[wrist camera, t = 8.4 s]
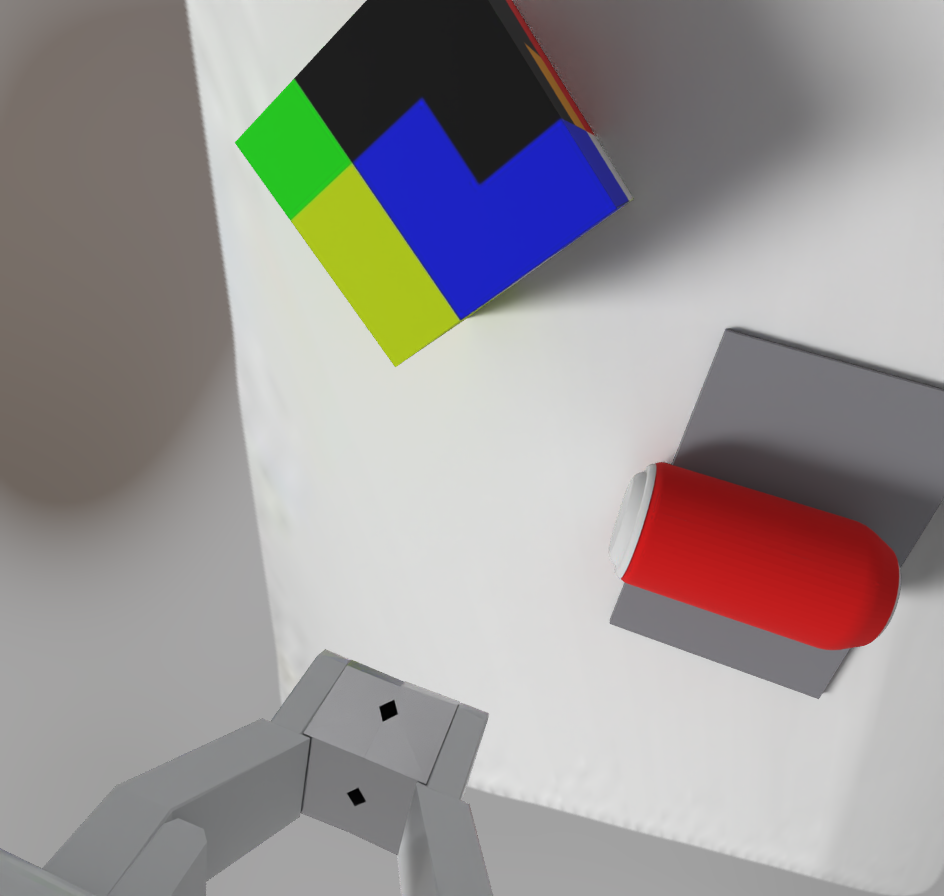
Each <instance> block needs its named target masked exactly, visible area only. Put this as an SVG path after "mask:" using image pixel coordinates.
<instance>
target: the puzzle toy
mask: <svg viewBox="0 0 944 896" xmlns="http://www.w3.org/2000/svg"><path fill="white" fill-rule="evenodd" d="M235 143H236V145H237V146H238V148H239V149H240V150H241V152H242V153H243V155H244V156H245V157H246V159H247V160H248V162H249V163H250V164H251V166H252V167H253V169H254V170H255V171H256V173H257V174H258V176H259V177H260V178H261V180H262V181H263V183H264V184H265V185H266V187H267V188H268V190H269V191H270V192H271V194H272V195H273V197H274V198H275V199H276V201H277V202H278V204H279V205H280V206H281V208H282V209H283V211H284V212H285V213H286V215H287V216H288V218H289V219H290V220H291V222H292V223H293V225H294V226H295V227H296V229H297V230H298V232H299V233H300V234H301V236H302V237H303V239H304V240H305V241H306V243H307V244H308V246H309V247H310V248H311V250H312V251H313V253H314V254H315V255H316V257H317V258H318V260H319V261H320V262H321V264H322V265H323V267H324V268H325V269H326V271H327V272H328V274H329V275H330V276H331V278H332V279H333V281H334V282H335V283H336V285H337V286H338V288H339V289H340V290H341V292H342V293H343V295H344V296H345V297H346V299H347V300H348V302H349V303H350V304H351V306H352V307H353V309H354V310H355V311H356V313H357V314H358V316H359V317H360V318H361V320H362V321H363V323H364V324H365V325H366V327H367V328H368V330H369V331H370V332H371V334H372V335H373V337H374V338H375V339H376V341H377V342H378V344H379V345H380V346H381V348H382V349H383V351H384V352H385V353H386V355H387V356H388V358H389V359H390V360H391V362H392V363H393V365H394V366H395V367H396V366H398V365H399V364H401V363H402V362H404V361H405V360H406V359H408V358H409V357H411V356H412V355H414V354H415V353H417V352H418V351H420V350H421V349H423V348H424V347H425V346H427V345H428V344H430V343H431V342H433V341H434V340H436V339H437V338H439V337H440V336H442V335H443V334H444V333H446V332H447V331H449V330H450V329H452V328H453V327H455V326H456V325H458V324H459V323H461V322H462V321H464V320H465V319H466V318H468V317H469V316H471V315H472V314H473V313H475V312H476V311H478V310H479V309H480V308H482V307H483V306H485V305H486V304H487V303H489V302H490V301H492V300H493V299H494V298H496V297H497V296H499V295H500V294H502V293H503V292H504V291H506V290H507V289H509V288H510V287H511V286H513V285H514V284H516V283H517V282H518V281H520V280H521V279H523V278H524V277H525V276H527V275H528V274H530V273H531V272H532V271H534V270H535V269H537V268H538V267H539V266H541V265H542V264H544V263H545V262H546V261H548V260H549V259H551V258H552V257H553V256H555V255H556V254H558V253H559V252H560V251H562V250H563V249H565V248H566V247H567V246H569V245H570V244H572V243H573V242H574V241H576V240H577V239H579V238H580V237H581V236H583V235H584V234H586V233H587V232H588V231H590V230H591V229H593V228H594V227H595V226H597V225H598V224H600V223H601V222H602V221H604V220H605V219H607V218H608V217H609V216H611V215H612V214H614V213H615V212H616V211H618V210H619V209H621V208H622V207H623V206H625V205H626V204H628V203H629V202H631V201H632V200H633V199H634V198H633V197H632V195H631V194H630V192H629V190H628V189H627V187H626V185H625V184H624V182H623V181H622V179H621V177H620V176H619V174H618V172H617V171H616V169H615V168H614V166H613V164H612V163H611V161H610V159H609V158H608V156H607V155H606V153H605V151H604V150H603V148H602V146H601V145H600V143H599V141H598V140H597V138H596V137H595V135H594V133H593V132H592V130H591V128H590V127H589V125H588V124H587V122H586V120H585V119H584V117H583V115H582V114H581V112H580V111H579V109H578V107H577V106H576V104H575V102H574V101H573V99H572V98H571V96H570V94H569V93H568V91H567V89H566V88H565V86H564V84H563V83H562V81H561V80H560V78H559V76H558V75H557V73H556V71H555V70H554V68H553V67H552V65H551V63H550V62H549V60H548V58H547V57H546V55H545V54H544V52H543V50H542V49H541V47H540V45H539V44H538V42H537V40H536V39H535V37H534V36H533V34H532V32H531V31H530V29H529V27H528V26H527V24H526V23H525V21H524V19H523V18H522V16H521V14H520V13H519V11H518V10H517V8H516V6H515V5H514V3H513V1H512V0H367V1H366V2H365V3H364V4H363V5H362V6H361V7H360V8H359V9H358V10H357V11H356V12H355V14H354V15H353V16H352V17H351V18H350V19H349V20H348V21H347V22H346V23H345V24H344V25H343V26H342V28H341V29H340V30H339V31H338V32H337V33H336V34H335V35H334V36H333V37H332V38H331V39H330V40H329V42H328V43H327V44H326V45H325V46H324V47H323V48H322V49H321V50H320V51H319V52H318V53H317V55H316V56H315V57H314V58H313V59H312V60H311V61H310V62H309V63H308V64H307V65H306V66H305V67H304V69H303V70H302V71H301V72H300V73H299V74H298V75H297V76H296V77H295V78H294V79H293V80H292V82H291V83H290V84H289V85H288V86H287V87H286V88H285V89H284V90H283V91H282V92H281V93H280V94H279V96H278V97H277V98H276V99H275V100H274V101H273V102H272V103H271V104H270V105H269V106H268V107H267V108H266V110H265V111H264V112H263V113H262V114H261V115H260V116H259V117H258V118H257V119H256V120H255V121H254V123H253V124H252V125H251V126H250V127H249V128H248V129H247V130H246V131H245V132H244V133H243V134H242V135H241V137H240V138H239V139H238V140H237V141H236V142H235Z"/></svg>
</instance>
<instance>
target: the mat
mask: <svg viewBox="0 0 944 896" xmlns="http://www.w3.org/2000/svg"><path fill="white" fill-rule="evenodd" d="M672 465H674V466H678V467H681V468H684V469H687V470H691V471H694V472H697V473H701V474H704V475H707V476H710V477H714V478H717V479H720V480H724V481H727V482H730V483H733V484H737V485H740V486H743V487H747V488H750V489H753V490H756V491H760V492H763V493H766V494H770V495H773V496H776V497H779V498H783V499H786V500H789V501H793V502H796V503H799V504H802V505H806V506H809V507H812V508H816V509H819V510H822V511H825V512H829V513H832V514H835V515H839V516H842V517H845V518H849V519H852V520H855V521H858V522H860V523H862V524H864V525H866V526H867V527H869V528H870V529H871V530H873V531H874V532H875V533H876V534H877V535H878V536H879V537H880V538H881V539H882V540H883V541H884V542H885V543H886V544H887V545H888V546H889V547H890V548H891V549H892V550H893V551H894V553H895V555H896V557H897V560H898V563H899V566H900V567H901V566H902V564H903V563H904V561H905V559H906V558H907V556H908V555H909V553H910V551H911V550H912V548H913V547H914V545H915V543H916V542H917V540H918V539H919V537H920V535H921V534H922V532H923V530H924V529H925V527H926V526H927V524H928V522H929V521H930V519H931V518H932V516H933V514H934V513H935V511H936V510H937V508H938V506H939V505H940V503H941V502H942V500H943V498H944V389H940V388H937V387H933V386H929V385H926V384H922V383H919V382H915V381H911V380H908V379H904V378H901V377H897V376H893V375H890V374H886V373H883V372H879V371H875V370H872V369H868V368H865V367H861V366H857V365H854V364H850V363H847V362H843V361H839V360H836V359H832V358H829V357H825V356H821V355H818V354H814V353H811V352H807V351H803V350H800V349H796V348H793V347H789V346H785V345H782V344H778V343H775V342H771V341H767V340H764V339H760V338H757V337H753V336H749V335H746V334H742V333H739V332H735V331H731V330H728V329H725V332H724V335H723V337H722V340H721V342H720V345H719V347H718V350H717V352H716V355H715V357H714V360H713V362H712V365H711V367H710V370H709V372H708V375H707V377H706V380H705V382H704V385H703V387H702V390H701V392H700V395H699V397H698V400H697V402H696V405H695V407H694V410H693V412H692V415H691V417H690V420H689V422H688V425H687V427H686V430H685V432H684V435H683V437H682V440H681V442H680V445H679V447H678V450H677V452H676V455H675V457H674V460H673V463H672ZM610 624H612V625H615V626H618V627H620V628H623V629H626V630H629V631H632V632H634V633H637V634H640V635H643V636H645V637H648V638H651V639H654V640H656V641H659V642H662V643H665V644H668V645H670V646H673V647H676V648H679V649H681V650H684V651H687V652H690V653H693V654H695V655H698V656H701V657H704V658H706V659H709V660H712V661H715V662H717V663H720V664H723V665H726V666H729V667H731V668H734V669H737V670H740V671H742V672H745V673H748V674H751V675H754V676H756V677H759V678H762V679H765V680H767V681H770V682H773V683H776V684H778V685H781V686H784V687H787V688H790V689H792V690H795V691H798V692H801V693H803V694H806V695H809V696H812V697H815V698H817V699H819V698H820V696H821V695H822V693H823V691H824V690H825V688H826V687H827V685H828V683H829V682H830V680H831V679H832V677H833V675H834V674H835V672H836V670H837V669H838V667H839V666H840V664H841V662H842V661H843V659H844V658H845V656H846V654H847V653H848V651H849V650H850V648H848V649H842V650H824V649H819V648H816V647H813V646H810V645H807V644H804V643H801V642H798V641H795V640H792V639H789V638H786V637H783V636H780V635H777V634H775V633H772V632H769V631H766V630H763V629H760V628H757V627H754V626H751V625H748V624H745V623H742V622H739V621H736V620H733V619H730V618H727V617H724V616H721V615H718V614H715V613H712V612H710V611H707V610H704V609H701V608H698V607H695V606H692V605H689V604H686V603H683V602H680V601H677V600H674V599H671V598H668V597H665V596H662V595H659V594H656V593H653V592H650V591H647V590H645V589H642V588H639V587H636V586H633V585H630V584H627V583H624V585H623V588H622V590H621V593H620V596H619V598H618V601H617V603H616V606H615V608H614V611H613V613H612V616H611V618H610Z"/></svg>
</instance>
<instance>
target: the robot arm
mask: <svg viewBox="0 0 944 896" xmlns="http://www.w3.org/2000/svg"><path fill="white" fill-rule="evenodd" d="M488 716H489V713H486V712H484V711H481V710H479V709H476V708H474V707H471V706H468V705H466V704H463V703H460V702H459V701H457V700H454V699H451V698H449V697H446V696H443V695H441V694H438V693H435V692H433V691H430V690H427V689H425V688H422V687H419V686H416V685H414V684H411V683H408V682H403V681H401V680H399V679H396V678H394V677H391V676H389V675H387V674H384V673H382V672H379V671H377V670H375V669H372V668H370V667H368V666H365V665H363V664H360V663H358V662H356V661H353V660H350V659H348V658H345V657H343V656H340V655H338V654H336V653H333V652H331V651H328V650H326V649H325V650H324V651H323V652H321V653H320V654H319V655H318V656H317V657H316V658H315V660H314V661H313V663H312V664H311V665H310V667H309V668H308V670H307V671H306V672H305V674H304V675H303V677H302V678H301V679H300V681H299V682H298V684H297V685H296V686H295V688H294V689H293V690H292V692H291V693H290V695H289V696H288V697H287V699H286V700H285V702H284V703H283V704H282V706H281V707H280V709H279V710H278V711H277V713H276V714H275V716H274V717H273V718H272V720H271V721H269V720H266V719H263V718H262V719H260V720H257V721H255V722H253V723H251V724H249V725H247V726H244V727H242V728H240V729H238V730H236V731H234V732H231V733H229V734H227V735H225V736H223V737H221V738H218V739H216V740H214V741H212V742H210V743H208V744H206V745H203V746H201V747H199V748H197V749H195V750H192V751H190V752H188V753H186V754H184V755H182V756H179V757H177V758H175V759H173V760H171V761H169V762H166V763H164V764H162V765H160V766H158V767H156V768H153V769H151V770H149V771H147V772H145V773H143V774H140V775H138V776H136V777H134V778H132V779H130V780H127V781H126V782H123V783H121V784H119V785H117V786H115V788H113V790H112V791H111V792H110V793H109V794H108V795H107V796H106V798H105V799H104V800H103V801H102V802H101V803H100V804H99V805H98V806H97V808H96V809H95V810H94V811H93V812H92V813H91V814H90V815H89V816H88V818H87V819H86V820H85V821H84V822H83V823H82V824H81V825H80V827H79V828H78V829H77V830H76V831H75V833H73V834H72V836H71V837H70V838H69V839H68V840H67V841H66V842H65V843H64V845H63V846H62V847H61V848H60V849H59V850H58V851H57V852H56V854H55V855H54V856H53V857H52V858H51V859H50V860H49V861H48V863H47V864H46V865H45V866H44V867H43V868H40V867H38V866H36V865H34V864H32V863H30V862H27V861H25V860H23V859H21V858H19V857H17V856H15V855H13V854H11V853H9V852H7V851H5V850H3V849H1V848H0V896H206V881H208V880H209V879H211V878H212V877H214V876H215V875H216V874H218V873H219V872H221V871H222V870H224V869H225V868H227V867H228V866H230V865H231V864H232V863H234V862H235V861H237V860H238V859H240V858H241V857H242V856H244V855H245V854H247V853H248V852H250V851H251V850H252V849H254V848H255V847H257V846H258V845H260V844H261V843H263V842H264V841H265V840H267V839H268V838H269V837H271V836H272V835H274V834H276V833H277V832H278V831H280V830H281V829H283V828H284V827H285V826H287V825H289V824H290V823H291V822H293V821H294V820H296V819H297V818H299V817H300V813H302V814H305V815H307V816H310V817H312V818H315V819H317V820H320V821H322V822H324V823H327V824H329V825H332V826H334V827H337V828H340V829H342V830H345V831H347V832H350V833H352V834H354V835H356V836H358V837H360V838H362V839H364V840H366V841H369V842H371V843H373V844H375V845H377V846H379V847H381V848H383V849H386V850H388V851H390V852H392V853H394V854H396V855H398V858H397V860H398V870H399V879H400V888H401V896H493V893H492V889H491V885H490V881H489V878H488V874H487V870H486V866H485V862H484V859H483V854H482V851H481V847H480V844H479V839H478V835H477V831H476V828H475V824H474V820H473V816H472V812H471V808H470V805H469V804H468V803H466V802H464V801H462V799H463V796H464V793H465V790H466V787H467V784H468V781H469V778H470V774H471V771H472V768H473V765H474V762H475V759H476V755H477V752H478V749H479V746H480V743H481V740H482V736H483V733H484V730H485V727H486V724H487V720H488Z"/></svg>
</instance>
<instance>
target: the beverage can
mask: <svg viewBox="0 0 944 896" xmlns="http://www.w3.org/2000/svg"><path fill="white" fill-rule="evenodd" d="M608 553H609V557H610V560H611V562H612V564H613V565H615V569H614V571H615V575H616V576H617V577H618V578H619V579H622V580H623V581H624V582H625V583H627V584H630V585H633V586H636V587H639V588H642V589H645V590H647V591H650V592H653V593H656V594H659V595H662V596H665V597H668V598H671V599H674V600H677V601H680V602H683V603H686V604H689V605H692V606H695V607H698V608H701V609H704V610H707V611H710V612H712V613H715V614H718V615H721V616H724V617H727V618H730V619H733V620H736V621H739V622H742V623H745V624H748V625H751V626H754V627H757V628H760V629H763V630H766V631H769V632H772V633H775V634H777V635H780V636H783V637H786V638H789V639H792V640H795V641H798V642H801V643H804V644H807V645H810V646H813V647H816V648H819V649H824V650H842V649H848V648H853V647H859V646H864V645H867V644H869V643H871V642H872V641H873V640H875V639H876V638H877V637H878V636H879V635H880V634H881V633H882V632H883V631H884V630H885V629H886V627H887V626H888V624H889V622H890V620H891V619H892V616H893V614H894V612H895V609H896V606H897V603H898V599H899V595H900V588H901V572H900V566H899V563H898V560H897V557H896V555H895V553H894V551H893V550H892V549H891V548H890V547H889V546H888V545H887V544H886V543H885V542H884V541H883V540H882V539H881V538H880V537H879V536H878V535H877V534H876V533H875V532H874V531H873V530H871V529H870V528H869V527H867V526H866V525H864V524H862V523H860V522H858V521H855V520H852V519H849V518H845V517H842V516H839V515H835V514H832V513H829V512H825V511H822V510H819V509H816V508H812V507H809V506H806V505H802V504H799V503H796V502H793V501H789V500H786V499H783V498H779V497H776V496H773V495H770V494H766V493H763V492H760V491H756V490H753V489H750V488H747V487H743V486H740V485H737V484H733V483H730V482H727V481H724V480H720V479H717V478H714V477H710V476H707V475H704V474H701V473H697V472H694V471H691V470H687V469H684V468H681V467H678V466H674V465H671V464H668V463H664V462H659V463H656V464H651V465H649V466H648V467H647V468H646V469H645V471H644V472H641V473H638V474H637V475H635V476H634V477H633V478H632V479H631V481H630V483H629V485H628V488H627V490H626V493H625V496H624V498H623V501H622V504H621V507H620V510H619V513H618V516H617V519H616V523H615V526H614V530H613V533H612V537H611V541H610V546H609V552H608Z"/></svg>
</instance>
